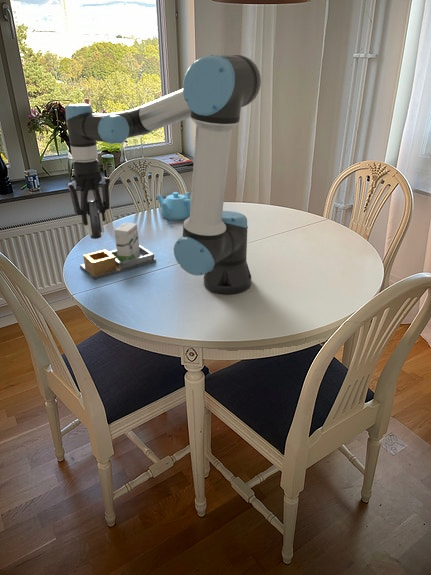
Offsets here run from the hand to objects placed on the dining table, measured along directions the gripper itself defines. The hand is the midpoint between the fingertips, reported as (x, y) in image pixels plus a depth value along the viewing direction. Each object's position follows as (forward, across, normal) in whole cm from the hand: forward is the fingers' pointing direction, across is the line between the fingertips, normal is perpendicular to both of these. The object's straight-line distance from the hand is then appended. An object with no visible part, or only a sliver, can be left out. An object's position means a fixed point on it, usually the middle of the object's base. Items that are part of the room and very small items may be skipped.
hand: (95, 232), depth 145 cm
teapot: (+14, -50, -31) cm, 60 cm away
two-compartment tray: (+13, -7, 0) cm, 15 cm away
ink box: (+12, -11, 0) cm, 17 cm away
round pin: (+2, 0, 0) cm, 2 cm away
